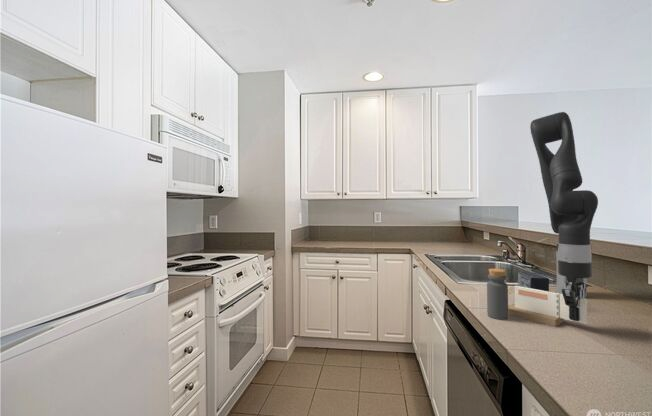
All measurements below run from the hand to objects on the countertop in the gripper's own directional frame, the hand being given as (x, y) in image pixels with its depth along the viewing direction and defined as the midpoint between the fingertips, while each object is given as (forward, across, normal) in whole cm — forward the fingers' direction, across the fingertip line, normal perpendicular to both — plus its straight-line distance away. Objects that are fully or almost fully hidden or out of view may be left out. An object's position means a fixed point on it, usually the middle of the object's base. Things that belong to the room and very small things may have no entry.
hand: (575, 319), depth 86 cm
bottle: (+3, +8, -18) cm, 20 cm away
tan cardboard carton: (+3, 0, -10) cm, 10 cm away
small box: (+3, -17, -17) cm, 24 cm away
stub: (+1, 0, -1) cm, 1 cm away
